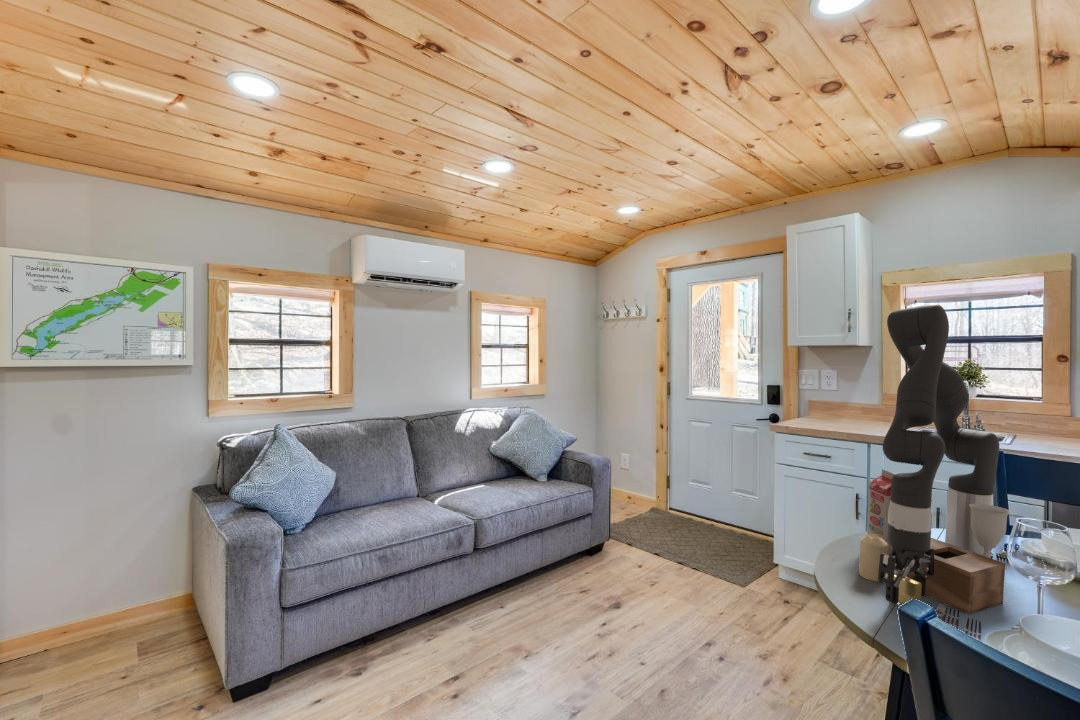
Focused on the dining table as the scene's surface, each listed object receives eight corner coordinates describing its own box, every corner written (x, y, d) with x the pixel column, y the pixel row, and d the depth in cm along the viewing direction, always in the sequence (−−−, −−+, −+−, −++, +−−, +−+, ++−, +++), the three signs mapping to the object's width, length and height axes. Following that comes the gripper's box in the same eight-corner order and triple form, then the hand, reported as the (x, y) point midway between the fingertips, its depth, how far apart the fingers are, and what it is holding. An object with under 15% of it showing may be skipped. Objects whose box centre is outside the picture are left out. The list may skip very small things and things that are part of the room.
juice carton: (890, 549, 140) (894, 469, 139) (908, 560, 133) (912, 476, 132) (866, 549, 140) (870, 469, 139) (883, 560, 133) (887, 476, 132)
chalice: (996, 580, 123) (1001, 505, 122) (1011, 593, 117) (1017, 515, 116) (959, 575, 126) (963, 502, 125) (972, 587, 119) (977, 511, 118)
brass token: (896, 599, 114) (897, 573, 113) (920, 611, 109) (921, 583, 109) (890, 601, 113) (891, 574, 113) (913, 613, 108) (915, 585, 108)
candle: (890, 583, 121) (892, 541, 121) (864, 580, 122) (866, 539, 122) (879, 572, 126) (881, 532, 126) (855, 570, 128) (856, 530, 127)
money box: (924, 572, 127) (926, 536, 127) (1002, 604, 112) (1005, 563, 112) (891, 580, 123) (893, 542, 122) (968, 614, 108) (970, 572, 107)
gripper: (913, 514, 116) (909, 584, 117) (868, 522, 111) (865, 596, 112) (950, 526, 109) (945, 601, 110) (904, 535, 104) (900, 613, 105)
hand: (905, 598), depth 111 cm, fingers open, 8 cm apart
